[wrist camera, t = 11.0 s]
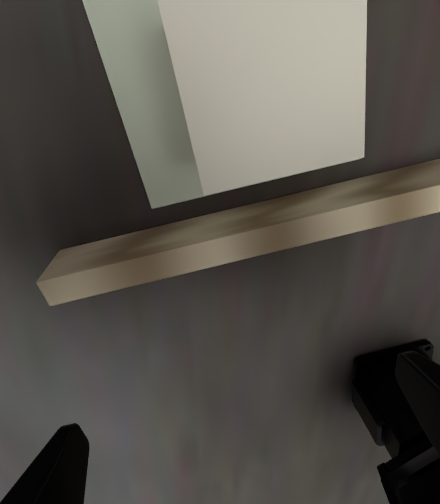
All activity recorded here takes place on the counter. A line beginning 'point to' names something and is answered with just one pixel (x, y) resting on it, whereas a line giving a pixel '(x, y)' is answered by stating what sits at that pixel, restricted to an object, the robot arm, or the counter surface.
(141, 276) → the birch screen
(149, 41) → the sage mat
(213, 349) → the counter surface
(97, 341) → the counter surface
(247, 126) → the letter cube
